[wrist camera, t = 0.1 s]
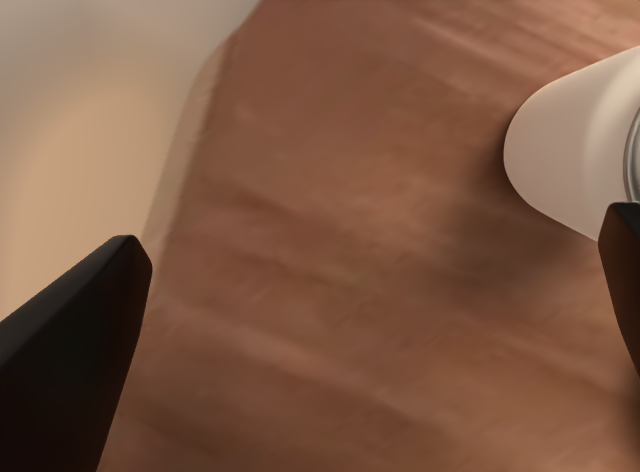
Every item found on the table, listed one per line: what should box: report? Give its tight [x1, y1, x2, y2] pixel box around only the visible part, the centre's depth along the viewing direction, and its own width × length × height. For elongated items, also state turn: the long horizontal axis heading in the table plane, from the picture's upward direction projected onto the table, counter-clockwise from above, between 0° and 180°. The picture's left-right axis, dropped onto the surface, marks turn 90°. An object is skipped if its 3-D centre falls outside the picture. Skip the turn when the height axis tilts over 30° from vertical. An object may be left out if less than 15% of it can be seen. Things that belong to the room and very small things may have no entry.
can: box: [504, 45, 640, 242], centre depth 16 cm, size 6×6×12 cm
